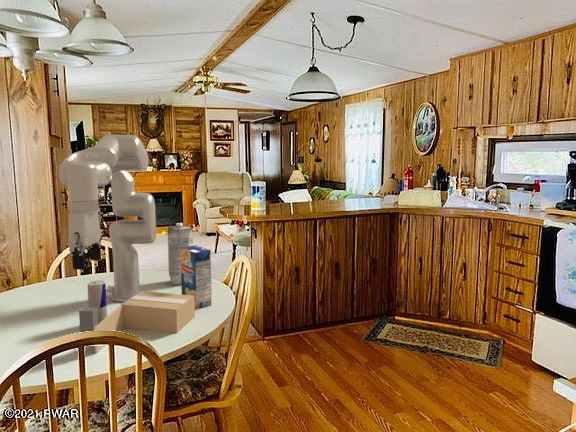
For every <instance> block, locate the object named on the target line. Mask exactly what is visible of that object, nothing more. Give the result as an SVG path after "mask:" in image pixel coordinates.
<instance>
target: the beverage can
mask: <svg viewBox="0 0 576 432" xmlns="http://www.w3.org/2000/svg"><path fill="white" fill-rule="evenodd" d="M87 301H88V307H95V308H97V310H98V324H99V323H100V322H101V321H103V320H104V319H105V318H106V317H107V316H108V307H107V306H108V305H107V287H106V281H105V280H101V279H99V280H91V281H89V282H87Z"/></svg>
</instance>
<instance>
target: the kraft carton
mask: <svg viewBox="0 0 576 432" xmlns="http://www.w3.org/2000/svg"><path fill="white" fill-rule="evenodd" d="M121 305H122V311H123V328H128V329H129V328H130V329H138V330H147V331H158V332H165V333H173V334H175V333H176V334H177V333H178V332H180V331H181V330H182V329H183V328H184V327H185V326H186V325H188V324H189V323H190V322H191V321H192V320H193V319H195V317H196V315H195V314H196V313H195V311H196V309H195V306H194V296H191V295H182V294H179V293H178V294H177V293H168V292H165V293H164V292H156V291H142V292H141V293H140V294H138V295H135V296H134V297H132V298H130V300H128V301H126V302H122V303H121Z"/></svg>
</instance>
